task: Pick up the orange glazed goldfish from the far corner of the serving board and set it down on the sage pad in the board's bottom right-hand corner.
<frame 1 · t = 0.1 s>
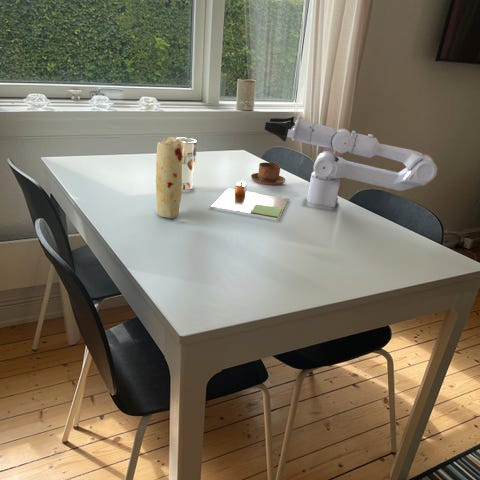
hand: (267, 123, 145), 22 cm above the table, tool horizontal, fingers open, 7 cm apart
corner pad: (266, 210, 140), resting on board
beer glass: (183, 190, 153), on the table
board: (251, 205, 146), on the table
cup and saucer: (267, 183, 169), on the table
food model: (168, 215, 132), on the table
goldfish: (240, 194, 151), point 1 cm above the table, touching board
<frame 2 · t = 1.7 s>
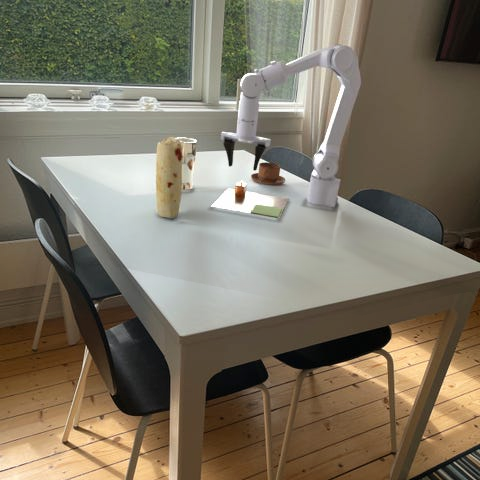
hand: (242, 167, 146), 9 cm above the table, tool pointing down, fingers open, 7 cm apart
nothing on the table moved.
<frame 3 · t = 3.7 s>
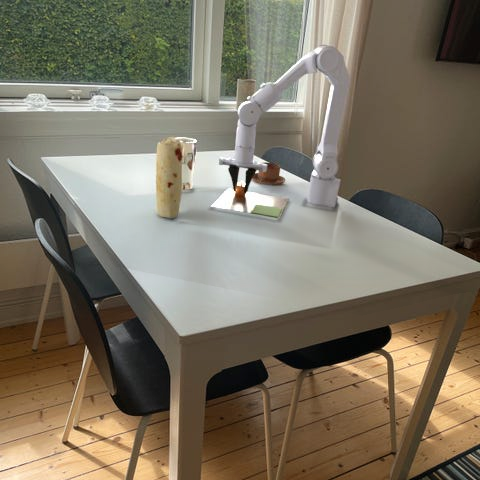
hand: (240, 191, 150), 2 cm above the table, tool pointing down, fingers closed on goldfish, 3 cm apart
goldfish: (240, 194, 151), point 1 cm above the table, touching board, gripper
everything else where it was.
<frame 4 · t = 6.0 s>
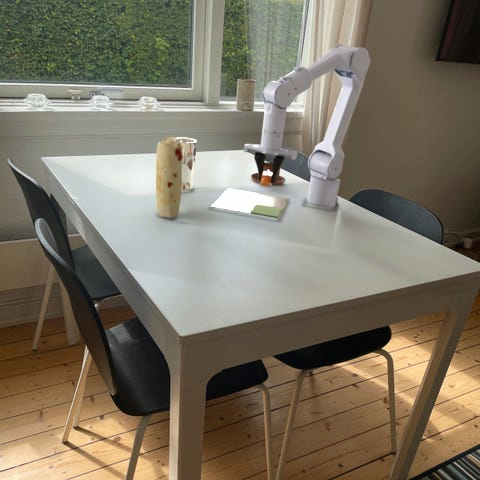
hand: (266, 181, 137), 9 cm above the table, tool pointing down, fingers closed on goldfish, 3 cm apart
goldfish: (266, 185, 138), point 8 cm above the table, touching gripper
everything else where it was.
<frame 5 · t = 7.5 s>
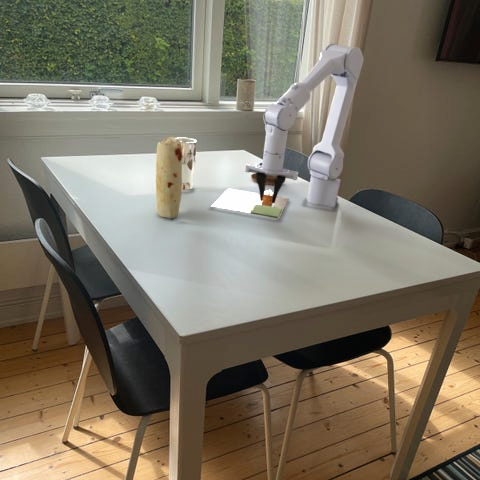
hand: (267, 200, 138), 4 cm above the table, tool pointing down, fingers closed on goldfish, 3 cm apart
goldfish: (267, 204, 139), point 3 cm above the table, touching gripper
everything else where it was.
when the fingers open (2 cm above the table, at t = 8.4 s): goldfish stays where it is, resting on corner pad.
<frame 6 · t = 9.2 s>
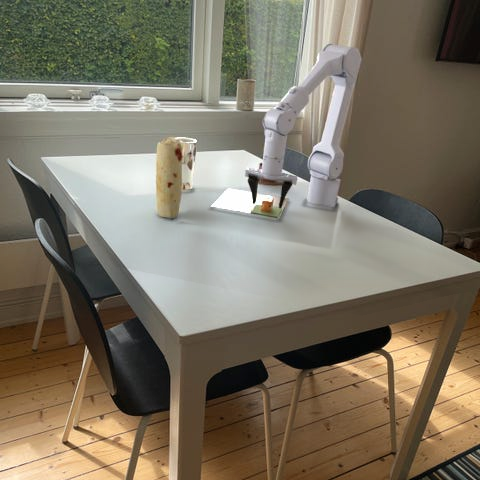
hand: (267, 205, 139), 3 cm above the table, tool pointing down, fingers open, 7 cm apart
goldfish: (266, 210, 140), point 1 cm above the table, touching corner pad
everything else where it was.
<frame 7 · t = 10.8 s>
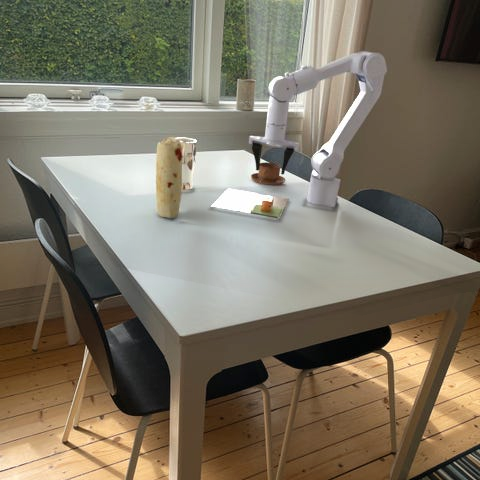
hand: (270, 171, 145), 9 cm above the table, tool pointing down, fingers open, 7 cm apart
nothing on the table moved.
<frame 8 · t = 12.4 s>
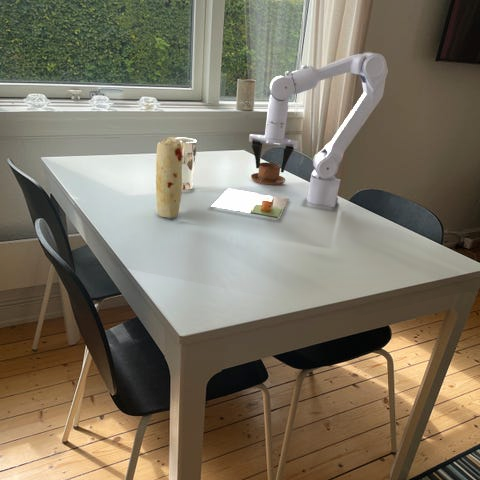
hand: (270, 169, 147), 9 cm above the table, tool pointing down, fingers open, 7 cm apart
nothing on the table moved.
at the end: goldfish inside the target area on the corner pad (0.0 cm from its centre), point 0.2 cm above the corner pad's base; goldfish tilted 0°; the gripper is holding nothing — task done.
